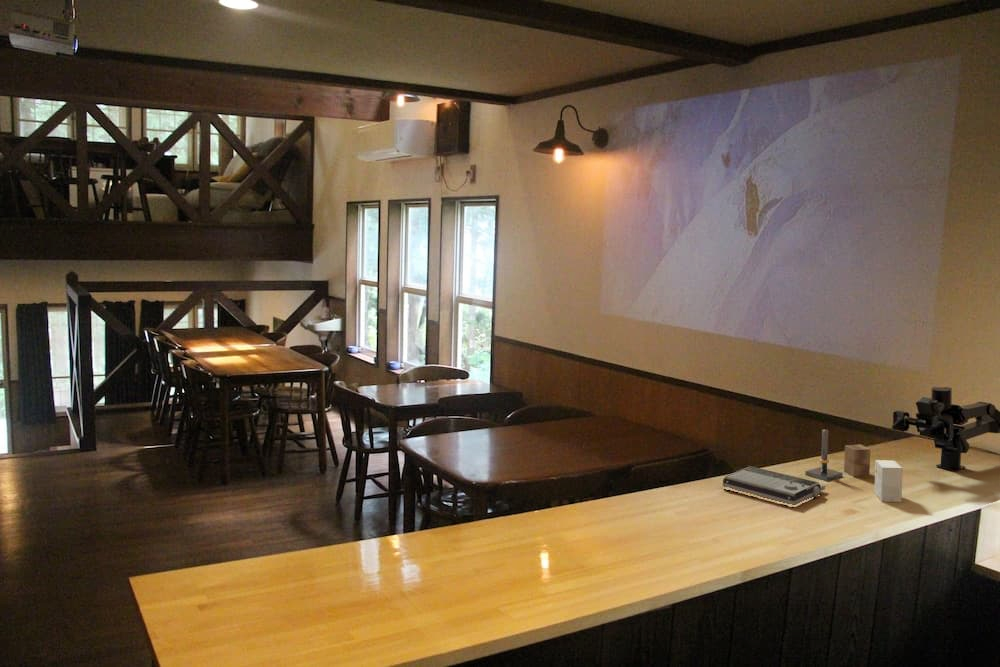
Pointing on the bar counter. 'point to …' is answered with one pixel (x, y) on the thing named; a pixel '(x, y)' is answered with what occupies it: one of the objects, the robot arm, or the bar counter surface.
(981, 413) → the robot arm
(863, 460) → the walnut block
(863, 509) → the bar counter surface
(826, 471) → the height gauge
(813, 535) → the bar counter surface
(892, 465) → the small box
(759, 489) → the radio
